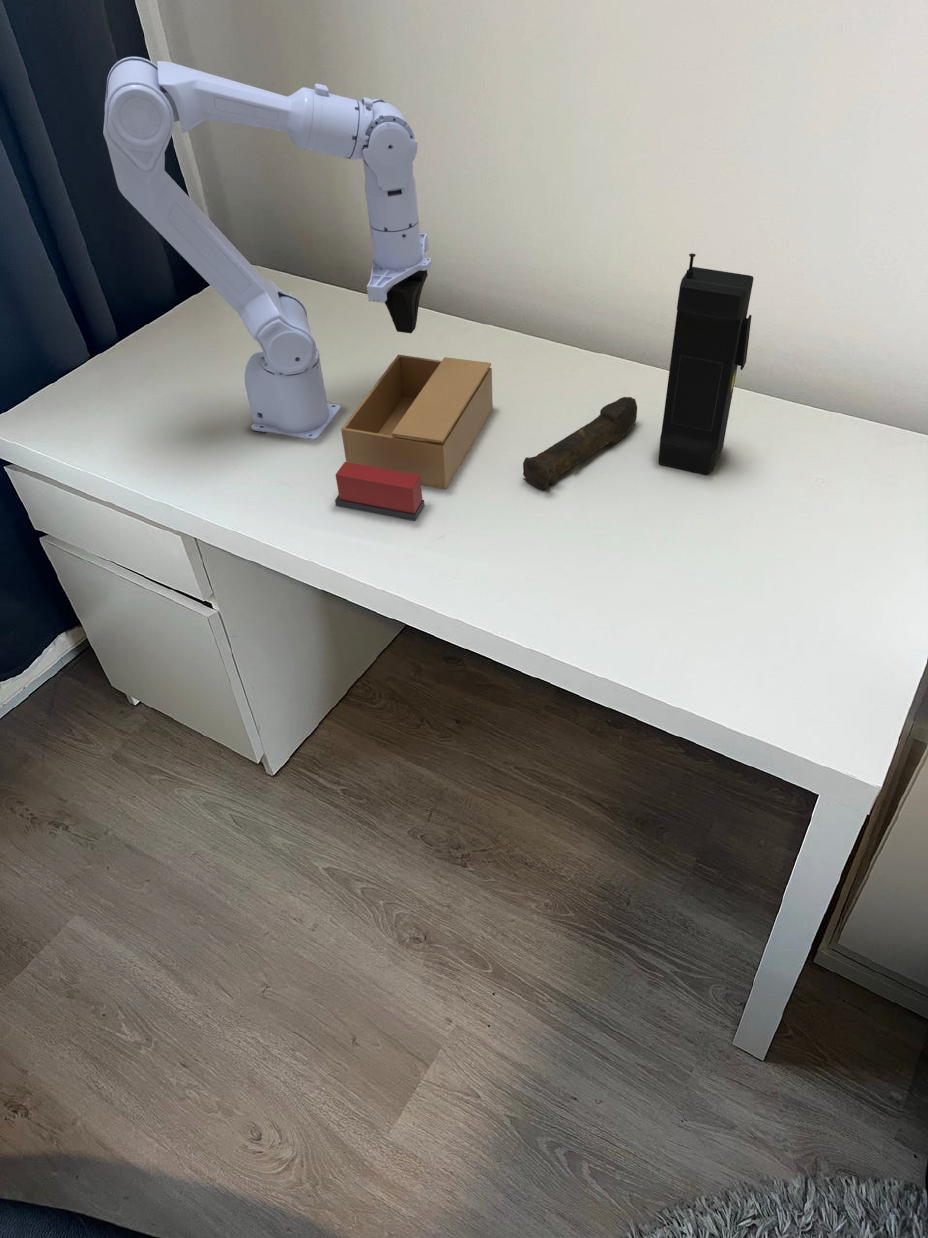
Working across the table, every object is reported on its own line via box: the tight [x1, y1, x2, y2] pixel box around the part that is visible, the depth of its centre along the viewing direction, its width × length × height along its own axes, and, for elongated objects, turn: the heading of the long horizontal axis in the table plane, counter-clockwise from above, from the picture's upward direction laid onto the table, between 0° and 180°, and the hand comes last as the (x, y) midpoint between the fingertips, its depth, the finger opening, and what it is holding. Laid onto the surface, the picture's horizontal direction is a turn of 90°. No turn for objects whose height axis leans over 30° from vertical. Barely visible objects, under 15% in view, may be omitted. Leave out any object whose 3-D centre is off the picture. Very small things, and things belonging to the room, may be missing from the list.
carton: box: [340, 354, 494, 490], centre depth 117 cm, size 18×13×6 cm
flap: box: [392, 356, 492, 443], centre depth 113 cm, size 18×6×1 cm, turn 161°
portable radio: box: [658, 253, 754, 475], centre depth 105 cm, size 8×6×25 cm
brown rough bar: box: [522, 396, 638, 491], centre depth 114 cm, size 19×4×5 cm, turn 131°
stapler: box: [334, 461, 425, 522], centre depth 108 cm, size 10×3×5 cm, turn 71°
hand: (406, 329), depth 118 cm, fingers closed
